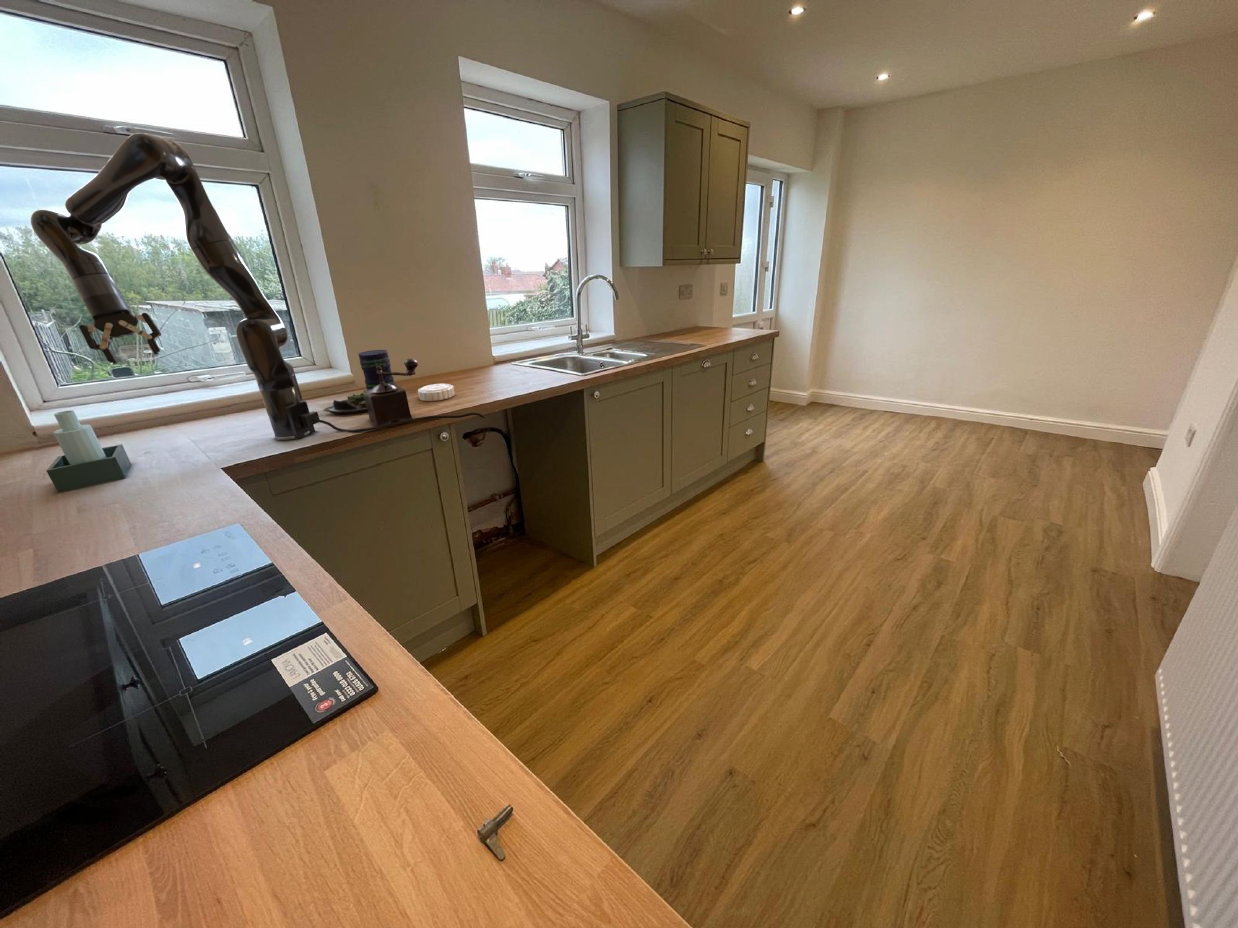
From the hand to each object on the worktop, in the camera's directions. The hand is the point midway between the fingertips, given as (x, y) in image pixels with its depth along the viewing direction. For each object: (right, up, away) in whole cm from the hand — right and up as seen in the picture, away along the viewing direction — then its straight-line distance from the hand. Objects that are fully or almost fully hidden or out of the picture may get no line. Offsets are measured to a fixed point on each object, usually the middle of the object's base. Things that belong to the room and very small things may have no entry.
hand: (137, 359), depth 131 cm
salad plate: (+38, -9, +37) cm, 54 cm away
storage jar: (+38, -1, +55) cm, 67 cm away
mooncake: (+62, -4, +46) cm, 77 cm away
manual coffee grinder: (+58, -13, +25) cm, 64 cm away
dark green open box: (-1, -31, -9) cm, 32 cm away
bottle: (-1, -30, -9) cm, 32 cm away
